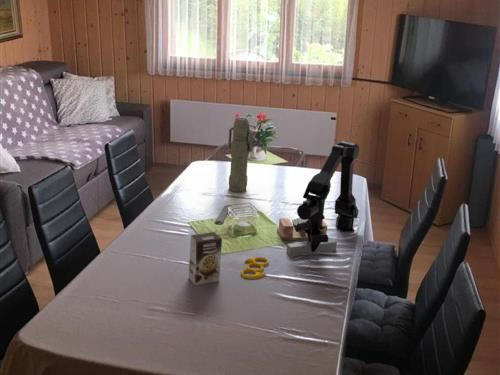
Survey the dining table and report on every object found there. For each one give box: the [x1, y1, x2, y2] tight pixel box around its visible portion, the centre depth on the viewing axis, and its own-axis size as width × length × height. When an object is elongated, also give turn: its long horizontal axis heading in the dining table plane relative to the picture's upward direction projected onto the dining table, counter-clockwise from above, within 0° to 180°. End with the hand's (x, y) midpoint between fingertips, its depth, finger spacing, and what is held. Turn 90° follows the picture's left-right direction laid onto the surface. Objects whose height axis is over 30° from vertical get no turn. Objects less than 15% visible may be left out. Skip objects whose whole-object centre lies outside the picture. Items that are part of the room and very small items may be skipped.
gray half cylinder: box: [214, 204, 231, 224], centre depth 262 cm, size 4×20×2 cm, turn 170°
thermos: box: [227, 117, 254, 194], centre depth 288 cm, size 9×12×35 cm
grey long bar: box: [286, 238, 338, 257], centre depth 233 cm, size 20×3×4 cm, turn 112°
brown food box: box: [188, 231, 223, 286], centre depth 205 cm, size 9×6×16 cm
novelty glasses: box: [240, 256, 270, 280], centre depth 217 cm, size 17×2×10 cm
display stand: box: [276, 217, 328, 242], centre depth 246 cm, size 19×9×6 cm, turn 100°
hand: (311, 249), depth 233 cm, fingers closed on grey long bar, 3 cm apart
